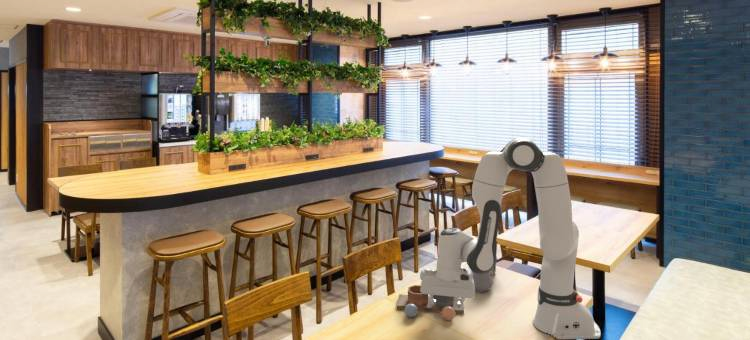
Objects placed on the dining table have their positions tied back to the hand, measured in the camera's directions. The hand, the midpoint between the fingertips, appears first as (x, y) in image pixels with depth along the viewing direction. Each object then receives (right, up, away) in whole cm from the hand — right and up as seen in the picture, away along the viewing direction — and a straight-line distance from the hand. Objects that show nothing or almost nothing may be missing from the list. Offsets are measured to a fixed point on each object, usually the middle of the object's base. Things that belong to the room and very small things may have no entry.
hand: (446, 306), depth 169 cm
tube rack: (-5, -3, +11) cm, 12 cm away
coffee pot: (+23, 0, +27) cm, 36 cm away
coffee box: (+27, +3, +45) cm, 53 cm away
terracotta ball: (+1, -3, 0) cm, 3 cm away
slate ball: (-13, -2, +2) cm, 14 cm away
